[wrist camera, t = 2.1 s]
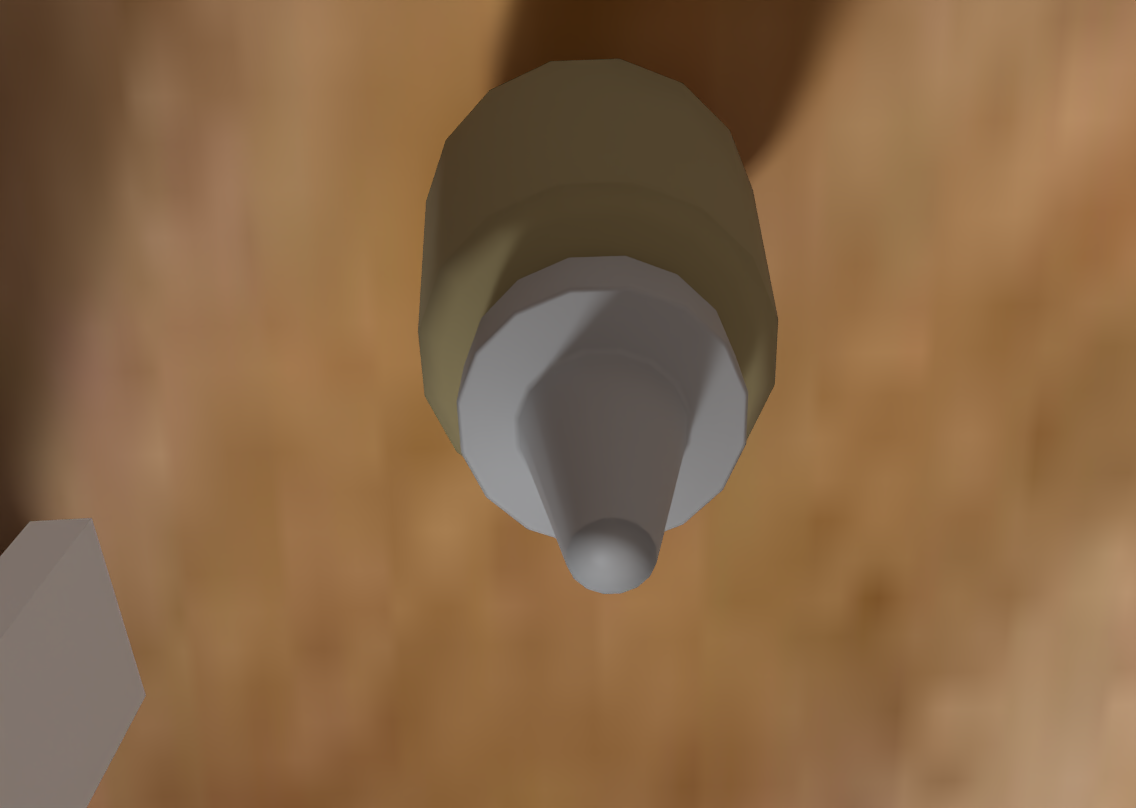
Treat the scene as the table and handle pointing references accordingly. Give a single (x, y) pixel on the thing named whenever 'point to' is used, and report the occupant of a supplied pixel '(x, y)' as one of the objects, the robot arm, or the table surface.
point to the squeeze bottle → (596, 308)
